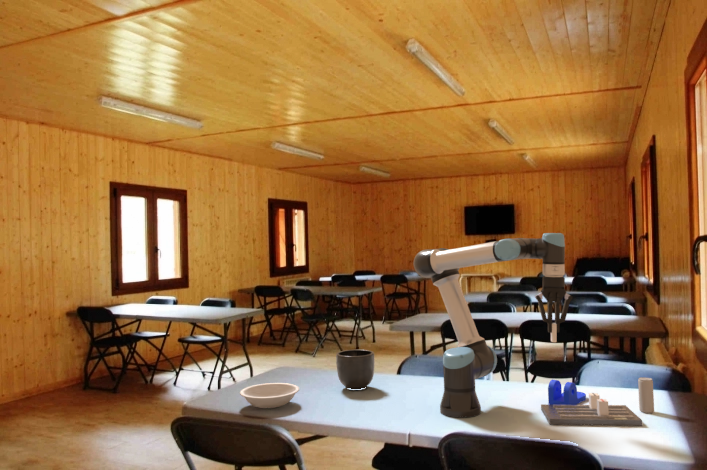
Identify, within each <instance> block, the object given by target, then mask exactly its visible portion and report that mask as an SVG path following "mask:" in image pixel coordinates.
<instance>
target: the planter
mask: <svg viewBox="0 0 707 470" xmlns="http://www.w3.org/2000/svg"><path fill="white" fill-rule="evenodd" d="M335 355H336V356H335V357H336V358H335V360H336V361H335V363H336V372H337V377H338V379H339V381H340V383H341V384H342V385H343V386H344V387H345V389H346V388H351V389H361V388H365V387H368V386H369V385H370V383H372V380H373V378H374V374H375V352H374V351H372V350H369V349H346V350H345V349H344V350H342V351H341V350H340V351H337V352H336V354H335Z"/></svg>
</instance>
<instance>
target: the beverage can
mask: <svg viewBox="0 0 707 470" xmlns="http://www.w3.org/2000/svg"><path fill="white" fill-rule="evenodd" d="M637 382H638V383H637V384H638V387H637V388H638V403H639V404H638V405H639V406H638V407H639V411H640V412H641V413H643V414H653V413H654V412H655V404H654V403H655V401H654V400H655V398H654V381H653V378H651V377H638V381H637Z"/></svg>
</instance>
